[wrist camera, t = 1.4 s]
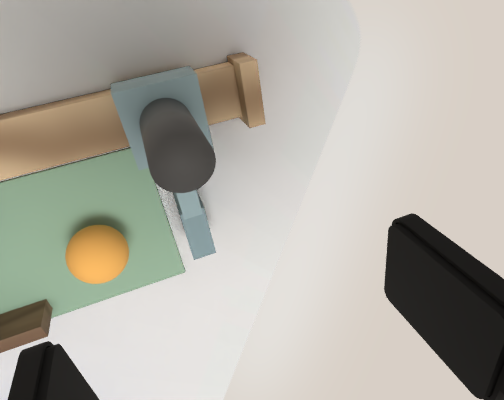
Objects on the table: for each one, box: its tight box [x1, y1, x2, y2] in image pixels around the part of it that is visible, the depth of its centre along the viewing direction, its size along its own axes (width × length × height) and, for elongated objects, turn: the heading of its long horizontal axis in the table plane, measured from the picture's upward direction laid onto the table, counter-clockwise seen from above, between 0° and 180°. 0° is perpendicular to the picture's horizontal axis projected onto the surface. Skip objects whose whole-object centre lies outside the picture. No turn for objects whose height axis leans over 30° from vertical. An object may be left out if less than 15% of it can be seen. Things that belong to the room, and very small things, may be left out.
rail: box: [0, 53, 265, 180], centre depth 23 cm, size 4×23×3 cm, turn 99°
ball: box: [65, 225, 129, 284], centre depth 27 cm, size 4×4×4 cm
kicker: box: [111, 66, 216, 260], centre depth 24 cm, size 14×5×10 cm, turn 9°
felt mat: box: [0, 148, 185, 318], centre depth 28 cm, size 13×20×1 cm, turn 99°
